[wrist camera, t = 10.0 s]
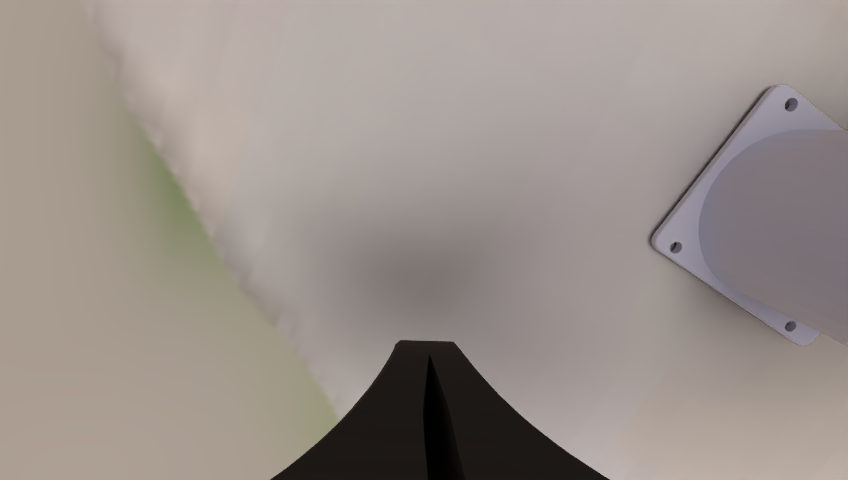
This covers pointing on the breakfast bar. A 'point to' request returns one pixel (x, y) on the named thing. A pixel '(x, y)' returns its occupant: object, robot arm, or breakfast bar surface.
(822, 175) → the robot arm
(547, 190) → the breakfast bar surface
